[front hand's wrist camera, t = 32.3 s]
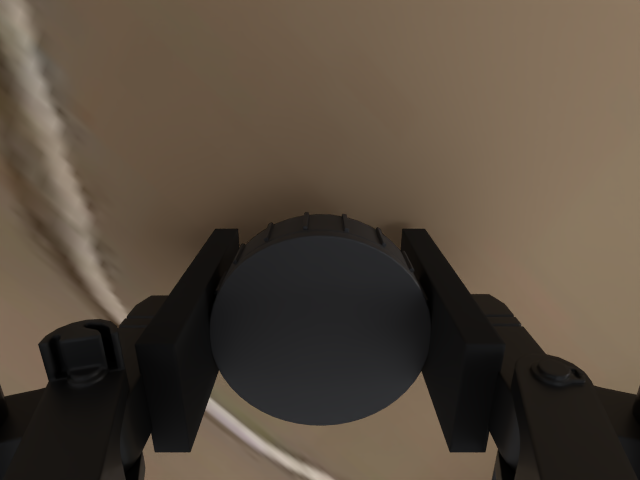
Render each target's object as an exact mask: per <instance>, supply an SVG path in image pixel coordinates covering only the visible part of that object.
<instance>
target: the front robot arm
mask: <svg viewBox="0 0 640 480" xmlns="http://www.w3.org/2000/svg"><path fill="white" fill-rule="evenodd" d="M238 250H239V237H238V229H215V230H214V232H213V233H212V234H211V236H210V237H209V239H208V240H207V242H206V243H205V244H204V246H203V247H202V249H201V250H200V252H199V253H198V254H197V256H196V257H195V259H194V260H193V262H192V263H191V264H190V266H189V267H188V269H187V270H186V272H185V273H184V274H183V276H182V277H181V279H180V280H179V282H178V283H177V284H176V286H175V287H174V289H173V290H172V291H171V293H170V294H169V296H150V297H148V298H147V299H145V300H143V301H142V302H140V303H139V304H137V305H136V306H135V307H134V308H133V309H132V311H131V312H130V313H129V314H128V316H127V319H124V321H123V322H122V323H121V324H120V325H119V328H117V326H116V325H115V324H114V323H112V322H111V321H107V320H102V319H94V320H84V321H79V322H75V323H71V324H68V325H66V326H63V327H61V328H58V329H56V330H55V331H53V332H51V333H50V334H48V335H47V336H45V337H44V338H43V339H42V341H41V342H40V343H39V344H38V345H39V349H40V352H41V356H42V359H43V363H44V366H45V370H46V373H47V377H48V380H49V382H48V384H47V386H46V388H42V389H39V390H34V391H29V392H24V393H19V394H14V395H10V396H5V397H4V394H3V391H2V389H1V386H0V480H144V475H145V462H144V456H143V452H142V450H143V448H144V446H145V444H146V442H147V440H148V438H149V436H150V434H152V440H153V445H154V450H155V452H191V449H192V446H193V443H194V440H195V438H196V435H197V432H198V429H199V426H200V423H201V420H202V417H203V415H204V412H205V409H206V406H207V403H208V400H209V397H210V394H211V392H212V389H213V386H214V383H215V380H216V377H217V374H218V371H219V369H218V367H217V365H216V362H215V360H214V357H213V354H212V350H211V342H210V332H209V320H210V314H211V310H212V305H213V303H214V300H215V298H216V295H217V294H214V293H215V290H216V288H217V286H218V284H219V282H220V280H221V278H222V276H223V274H224V272H225V271H226V272H228V270H229V268H230V266H231V264H232V263H233V261H234V259H235V257H236V255H237V252H238ZM403 250H404V251H405V253H406V254H407V256H408V258H409V260H410V262H411V264H412V267H413V269H414V271H413V273H414V275H415V277H416V279H417V280H419V281H420V283H421V286H422V288H423V290H424V292H425V294H426V296H427V298H428V300H429V303H427V304H428V307H429V310H430V315H431V321H432V325H431V336H430V344H429V352H428V356H427V359H426V362H425V364H424V366H423V368H422V370H421V371H422V374H423V376H424V379H425V382H426V385H427V388H428V391H429V394H430V397H431V399H432V402H433V405H434V408H435V411H436V414H437V417H438V420H439V422H440V425H441V428H442V431H443V434H444V437H445V440H446V443H447V445H448V448H449V451H450V452H486V446H487V441H488V436H489V431H490V433H491V435H492V437H493V439H494V441H495V443H496V446H497V448H498V452H497V456H496V461H495V466H494V471H493V476H492V480H640V387H639V390H638V393H637V395H635V394H630V393H625V392H620V391H615V390H610V389H606V388H601V387H597V386H594V385H593V383H592V381H591V380H590V379H589V377H588V376H587V375H586V373H585V372H584V371H582V370H581V369H580V368H578V367H577V366H575V365H574V364H572V363H570V362H568V361H566V360H564V359H561V358H559V357H555V356H551V355H547V354H545V352H544V351H543V350H542V349H541V348H540V346H539V345H538V344H537V343H536V341H535V340H534V339H533V338H532V337H531V335H530V334H529V333H528V332H527V331H526V329H525V328H524V327H521V323H520V322H519V321H518V320H517V318H516V317H514V315H513V314H512V312H511V311H510V310H509V309H508V307H507V306H506V305H505V304H504V303H502V302H501V301H499V300H498V299H496V298H494V297H493V296H491V295H489V294H470V293H469V291H468V290H467V288H466V287H465V285H464V284H463V283H462V281H461V280H460V278H459V277H458V275H457V274H456V273H455V271H454V270H453V268H452V267H451V265H450V264H449V263H448V261H447V260H446V258H445V257H444V255H443V254H442V253H441V251H440V250H439V248H438V247H437V245H436V244H435V243H434V241H433V240H432V238H431V237H430V235H429V234H428V233H427V231H426V230H425V229H402V240H401V252H402V251H403Z"/></svg>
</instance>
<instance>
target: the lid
mask: <svg viewBox="0 0 640 480" xmlns="http://www.w3.org/2000/svg"><path fill="white" fill-rule="evenodd" d="M413 271H414V269H413V267H412V264H411V262H410V260H409V258H408V256H407V254H406V253H405V251H404V250H403V251H402V252H401V251H400V250H399V249H398V248H397V246H396V245H395V244H394V243H393V242H392V241H391V240H390V239H388V238H387V237H386V236H384V235H383V234H382V232H381V229H380V228H378V227H377V228H376V229H374V228H372V227H371V226H369V225H366V224H364V223H362V222H359V221H357V220H353V219H350V218H347V215H346V214H342V216H335V215H322V214H315V215H309V213H308V212H306V213H304V216H299V217H295V218H290V219H287V220H284V221H282V222H279V223H276V224H274V225H273V223H270V224H269V225H268V228H267V229H265V230H263V231H262V232H260V233H259V234H258V235H256V236H255V237H253V238H252V239H251V240H250V241H249V242H248V243H247V244H246V245H245V244H242V245H241V246H240V248H239V250H238V252H237V255H236V257H235V259H234V261H233V263H232V264H231V266H230V268H229V270H228V272H226V271H225V272H224V274H223V276H222V278H221V280H220V282H219V284H218V286H217V288H216V290H215V293H214V294H217V295H216V298H215V300H214V303H213V305H212V310H211V314H210V320H209V332H210V342H211V350H212V354H213V357H214V360H215V362H216V365H217V367H218V369H219V371H220V372H221V374H222V376H223V378H224V379H225V380H226V381H227V383H228V384H229V385H230V387H231V388H232V389H233V390H234V391H235V392H236V393H237V394H238V395H239V396H240V397H241V398H243V399H244V400H245V401H247V402H248V403H249V404H250V405H252V406H254V407H255V408H257V409H259V410H260V411H262V412H264V413H266V414H269V415H271V416H273V417H276V418H279V419H282V420H285V421H289V422H293V423H298V424H305V425H336V424H342V423H348V422H352V421H356V420H359V419H362V418H365V417H367V416H370V415H372V414H375V413H377V412H378V411H380V410H382V409H384V408H386V407H387V406H389V405H390V404H391V403H393V402H394V401H396V400H397V399H398V398H399V397H400V396H401V395H403V394H404V393H405V392H406V391H407V390H408V388H409V387H410V386H411V385H412V384H413V383H414V381H415V380H416V378H417V377H418V375H419V374H420V372H421V370H422V368H423V366H424V364H425V362H426V359H427V356H428V352H429V344H430V336H431V325H432V321H431V315H430V310H429V307H428V304H427V303H429V300H428V298H427V296H426V294H425V292H424V290H423V288H422V286H421V283H420V281H419V280H417V279H416V277H415V275H414V273H413Z"/></svg>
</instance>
